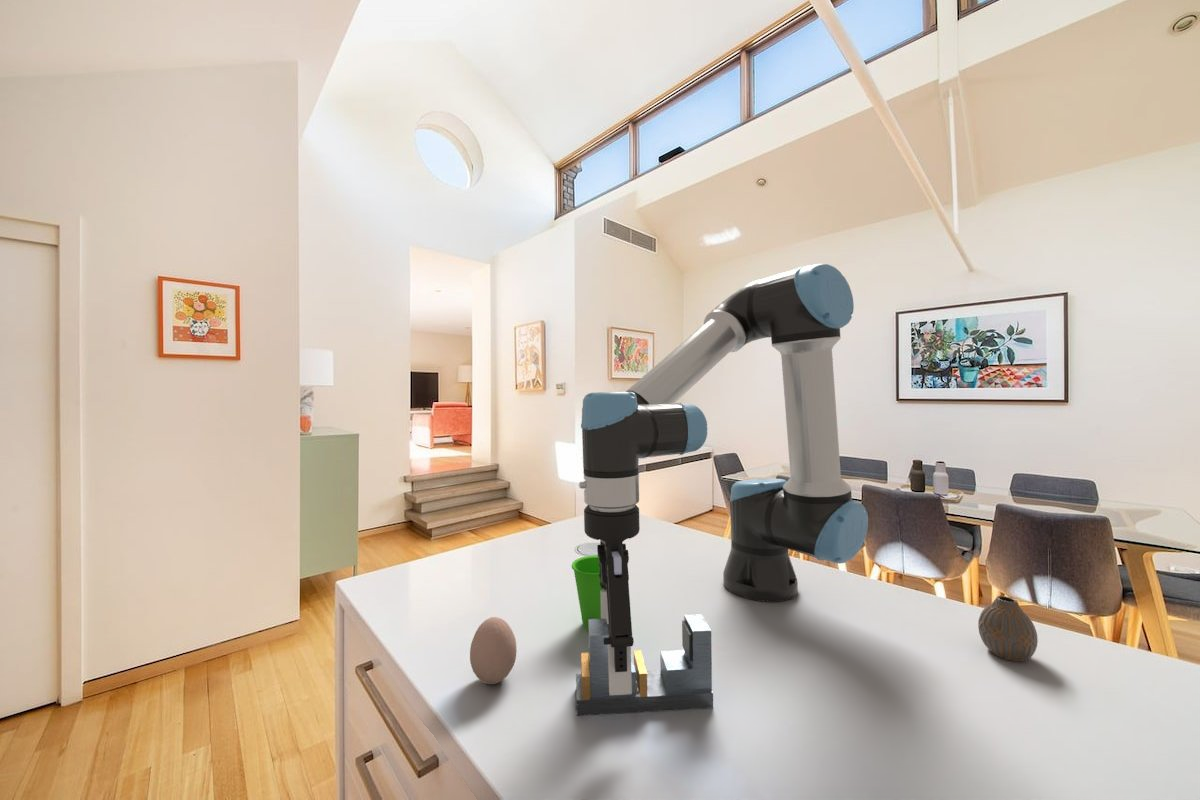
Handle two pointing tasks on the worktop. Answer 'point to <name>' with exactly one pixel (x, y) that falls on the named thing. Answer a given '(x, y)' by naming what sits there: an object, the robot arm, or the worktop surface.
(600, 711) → the rail
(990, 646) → the vase
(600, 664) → the l-shaped step block
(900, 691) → the worktop surface
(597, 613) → the cup
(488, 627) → the egg
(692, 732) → the worktop surface
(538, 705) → the worktop surface
